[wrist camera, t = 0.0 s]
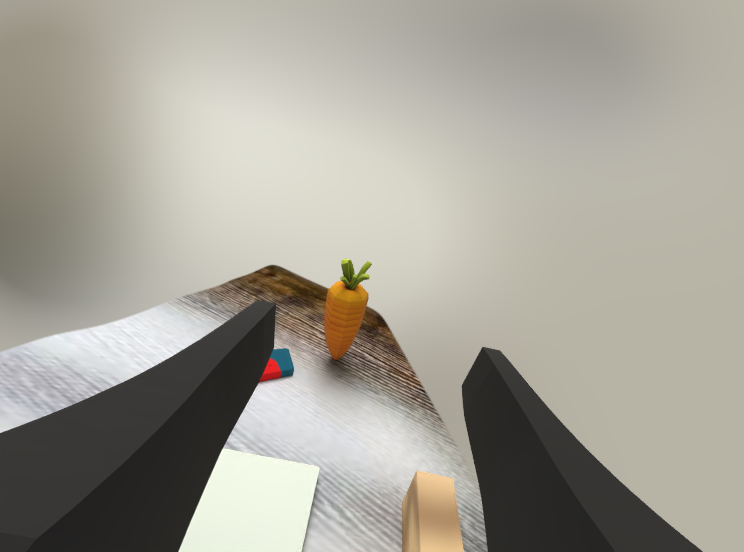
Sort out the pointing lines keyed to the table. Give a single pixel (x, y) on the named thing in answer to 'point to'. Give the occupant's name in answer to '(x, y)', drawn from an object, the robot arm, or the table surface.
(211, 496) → the balance stand
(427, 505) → the wooden block
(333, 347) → the carrot
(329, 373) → the table surface
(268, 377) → the popsicle
